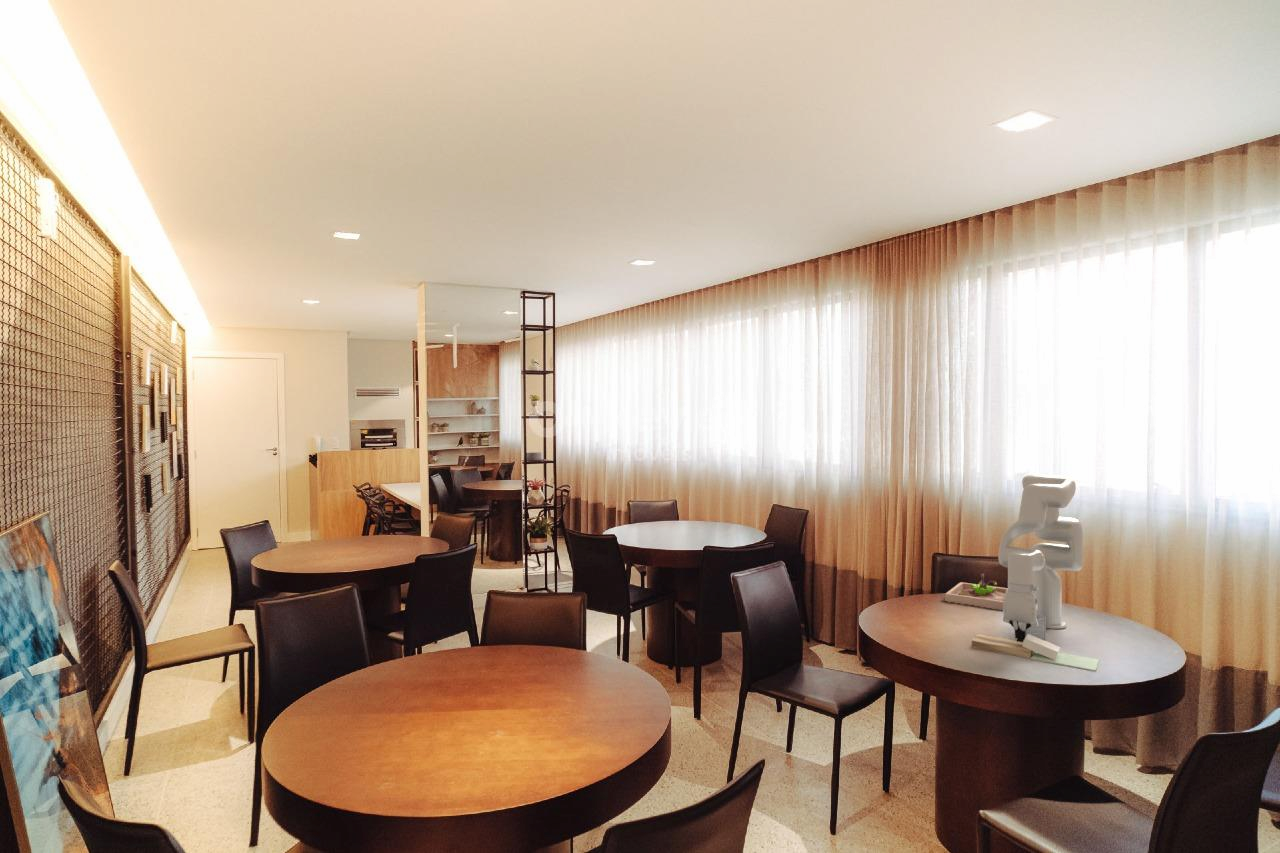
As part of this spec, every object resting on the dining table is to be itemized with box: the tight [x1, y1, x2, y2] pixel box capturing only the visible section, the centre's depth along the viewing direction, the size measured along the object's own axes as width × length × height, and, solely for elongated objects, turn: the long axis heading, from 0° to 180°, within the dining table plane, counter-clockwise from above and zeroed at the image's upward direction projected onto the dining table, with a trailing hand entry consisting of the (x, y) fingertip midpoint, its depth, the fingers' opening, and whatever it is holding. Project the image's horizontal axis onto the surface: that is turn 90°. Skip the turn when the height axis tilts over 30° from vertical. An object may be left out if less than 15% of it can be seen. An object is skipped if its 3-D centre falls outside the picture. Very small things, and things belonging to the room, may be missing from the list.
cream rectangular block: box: [1022, 634, 1061, 660], centre depth 232 cm, size 6×10×3 cm, turn 52°
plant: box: [958, 573, 1005, 601], centre depth 306 cm, size 20×20×11 cm
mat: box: [1030, 652, 1100, 672], centre depth 228 cm, size 12×18×1 cm, turn 52°
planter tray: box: [944, 581, 1008, 611], centre depth 304 cm, size 27×27×4 cm
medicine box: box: [1018, 614, 1047, 641], centre depth 251 cm, size 8×4×9 cm, turn 84°
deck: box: [971, 633, 1035, 659], centre depth 239 cm, size 10×18×2 cm, turn 52°
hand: (1020, 641), depth 236 cm, fingers closed
